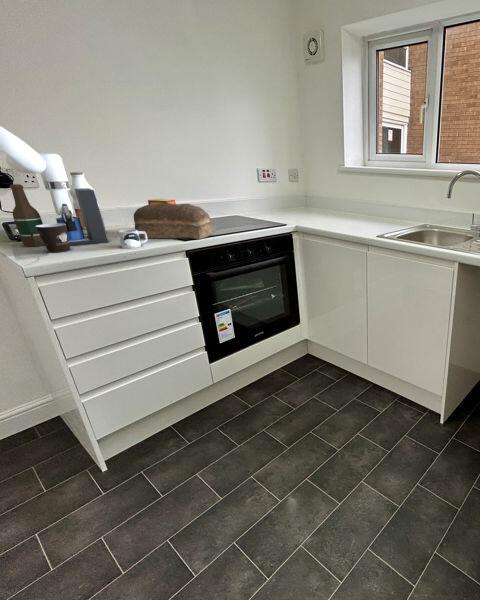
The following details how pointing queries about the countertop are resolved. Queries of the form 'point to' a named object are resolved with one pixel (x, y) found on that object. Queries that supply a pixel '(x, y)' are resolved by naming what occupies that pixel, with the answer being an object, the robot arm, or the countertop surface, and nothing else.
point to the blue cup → (73, 234)
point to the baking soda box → (161, 201)
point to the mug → (131, 238)
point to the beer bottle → (25, 217)
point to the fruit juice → (77, 183)
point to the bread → (172, 221)
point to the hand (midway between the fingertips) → (70, 229)
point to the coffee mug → (53, 237)
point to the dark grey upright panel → (90, 218)
